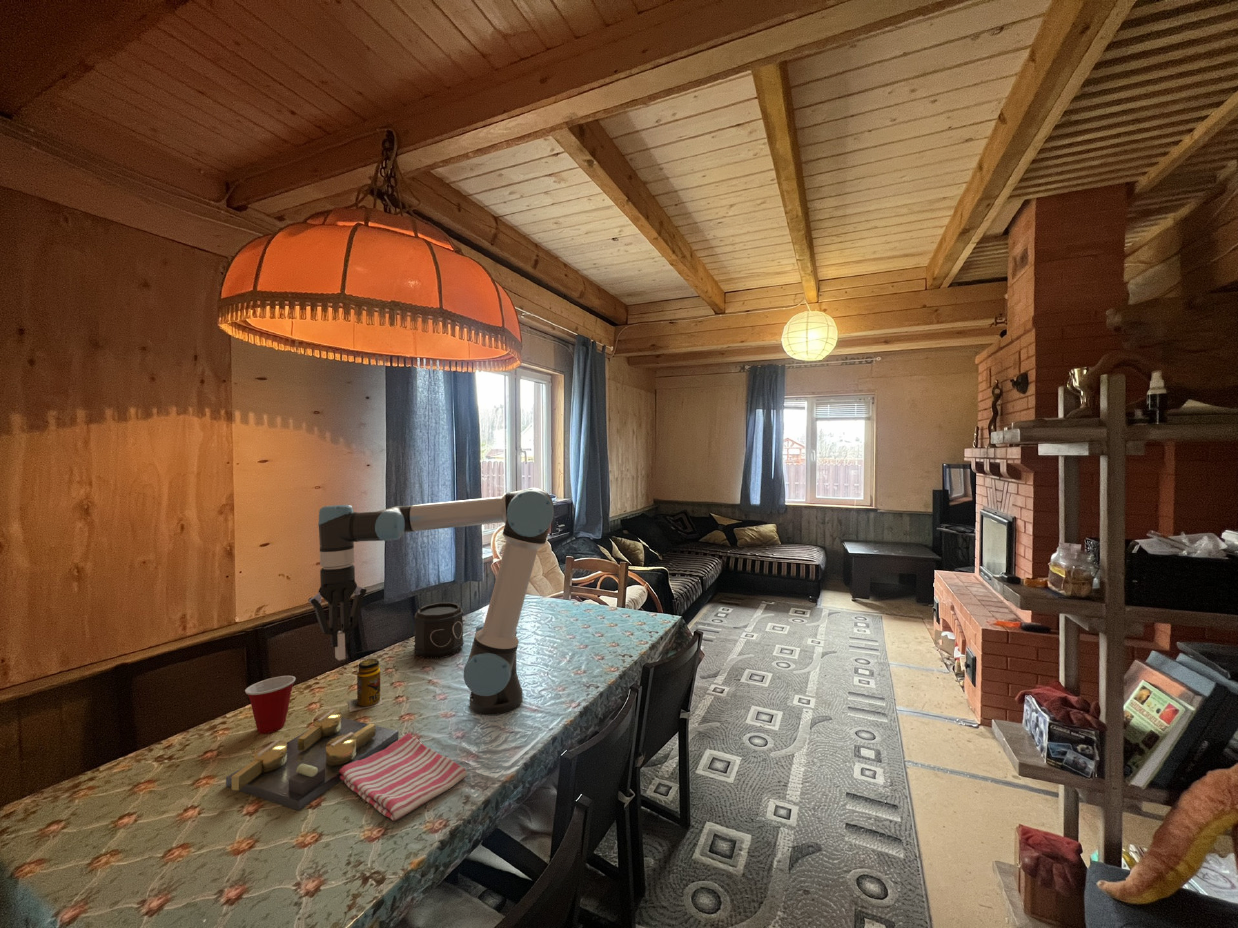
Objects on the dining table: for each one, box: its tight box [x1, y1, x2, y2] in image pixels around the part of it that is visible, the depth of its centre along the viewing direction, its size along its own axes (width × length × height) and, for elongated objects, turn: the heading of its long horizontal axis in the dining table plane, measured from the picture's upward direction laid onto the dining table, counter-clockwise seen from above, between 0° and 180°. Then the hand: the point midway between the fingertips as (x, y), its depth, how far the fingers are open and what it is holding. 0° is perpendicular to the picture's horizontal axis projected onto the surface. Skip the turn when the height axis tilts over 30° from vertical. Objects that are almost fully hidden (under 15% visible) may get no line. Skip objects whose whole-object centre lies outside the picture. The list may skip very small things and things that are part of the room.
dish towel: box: [339, 732, 468, 821], centre depth 103 cm, size 17×23×4 cm
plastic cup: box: [244, 675, 297, 735], centre depth 124 cm, size 11×11×12 cm
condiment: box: [347, 658, 384, 713], centre depth 137 cm, size 7×8×12 cm
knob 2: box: [298, 708, 342, 751], centre depth 116 cm, size 12×6×4 cm, turn 175°
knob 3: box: [326, 723, 376, 765], centre depth 110 cm, size 12×6×4 cm, turn 161°
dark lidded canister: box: [413, 602, 465, 660], centre depth 175 cm, size 18×18×16 cm
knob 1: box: [231, 739, 288, 791], centre depth 102 cm, size 12×6×4 cm, turn 175°
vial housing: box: [289, 764, 325, 795], centre depth 99 cm, size 5×5×4 cm
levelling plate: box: [225, 717, 399, 812], centre depth 110 cm, size 22×26×2 cm
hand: (340, 658), depth 119 cm, fingers closed
